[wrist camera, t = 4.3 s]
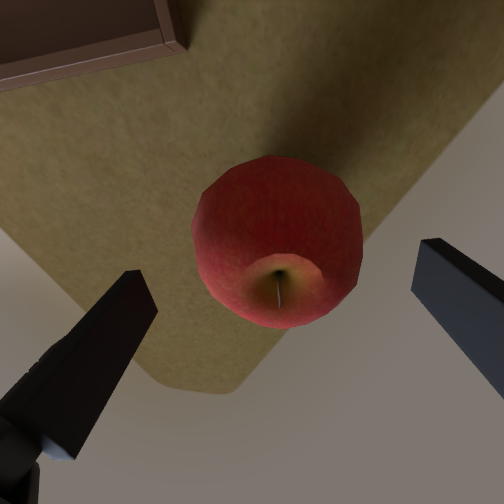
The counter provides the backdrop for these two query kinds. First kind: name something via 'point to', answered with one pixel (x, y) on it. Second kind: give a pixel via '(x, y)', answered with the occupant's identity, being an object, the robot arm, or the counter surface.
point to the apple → (278, 241)
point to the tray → (83, 37)
